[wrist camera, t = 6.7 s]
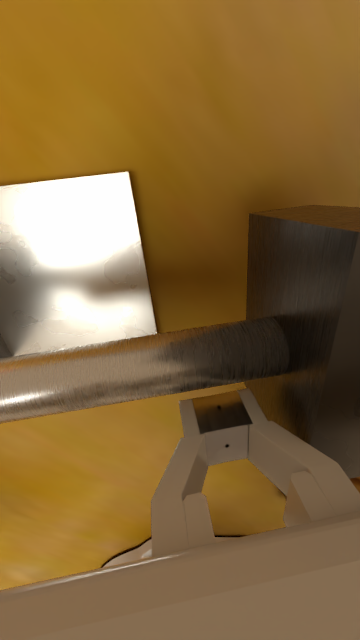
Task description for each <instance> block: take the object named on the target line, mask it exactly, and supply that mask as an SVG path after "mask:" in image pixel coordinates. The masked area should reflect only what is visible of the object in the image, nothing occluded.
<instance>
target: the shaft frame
mask: <svg viewBox="0 0 360 640" xmlns="http://www.w3.org/2000/svg"><path fill="white" fill-rule="evenodd" d="M153 334H157V328H156V323H155V317H154V311H153V305H152V300H151V294H150V288H149V283H148V277H147V271H146V265H145V260H144V254H143V248H142V243H141V237H140V231H139V226H138V220H137V214H136V208H135V203H134V197H133V191H132V186H131V180H130V174H129V172H122V173H113V174H104V175H95V176H87V177H78V178H69V179H60V180H51V181H42V182H34V183H25V184H16V185H7V186H0V358H6V357H12V356H19V355H25V354H31V353H38V352H44V351H51V350H57V349H63V348H70V347H76V346H83V345H89V344H95V343H102V342H108V341H115V340H121V339H127V338H134V337H140V336H147V335H153Z"/></svg>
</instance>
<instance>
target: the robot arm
mask: <svg viewBox="0 0 360 640" xmlns="http://www.w3.org/2000/svg"><path fill="white" fill-rule="evenodd" d="M179 406H180V413H181V419H182V425H183V431H184V438H181V439H180V441H179V443H178V445H177V447H176V449H175V451H174V454H173V456H172V458H171V460H170V462H169V464H168V466H167V468H166V470H165V473H164V475H163V477H162V479H161V481H160V483H159V485H158V487H157V489H156V492H155V494H154V496H153V498H152V500H151V533H152V539H150V540H149V541H147V542H146V543H144V544H143V545H142V546H140V547H139V548H137V549H135V550H132V551H130V552H127V553H125V554H123V555H120V556H118V557H116V558H115V559H113V560H111V561H110V562H108V563H107V564H106V565H105V566H104V567H103V568H99V569H95V570H90V571H86V572H81V573H77V574H72V575H68V576H63V577H59V578H54V579H50V580H45V581H41V582H36V583H32V584H27V585H23V586H18V587H13V588H9V589H4V590H0V640H360V493H359V492H358V490H357V489H356V488H355V486H354V485H353V483H352V482H351V481H350V479H349V478H348V476H347V475H346V474H345V472H344V471H343V470H342V468H341V467H340V465H339V464H338V463H337V462H335V461H334V460H332V459H331V458H329V457H328V456H326V455H325V454H323V453H321V452H320V451H318V450H317V449H315V448H314V447H312V446H311V445H309V444H307V443H306V442H304V441H303V440H301V439H300V438H298V437H297V436H295V435H293V434H292V433H290V432H289V431H287V430H286V429H284V428H283V427H281V426H279V425H278V424H276V423H275V422H273V421H268V420H267V418H266V417H265V415H264V413H263V411H262V409H261V408H260V406H259V404H258V402H257V400H256V399H255V397H254V395H253V393H252V391H251V390H250V389H249V388H247V389H242V390H237V391H231V392H226V393H221V394H216V395H211V396H205V397H199V398H192V399H187V400H181V401H179ZM245 458H248V460H250V461H251V462H252V463H253V464H254V465H255V466H256V467H257V468H258V469H259V470H260V471H261V472H262V473H263V474H264V475H265V476H266V477H267V478H268V479H269V480H270V481H271V482H272V483H273V484H274V485H275V486H276V487H277V488H278V489H279V490H281V491H282V492H283V493H284V494H285V495H286V496H287V500H286V505H285V510H284V516H283V520H284V522H285V525H286V527H285V528H280V529H276V530H271V531H266V532H262V533H257V534H253V535H248V536H244V537H239V538H238V537H215V536H214V532H213V527H212V522H211V517H210V513H209V508H208V503H207V499H206V496H205V495H204V494H202V493H201V491H202V487H203V484H204V480H205V476H206V473H207V469H208V466H210V465H215V464H219V463H223V462H228V461H234V460H239V459H245Z"/></svg>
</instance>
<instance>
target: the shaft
mask: <svg viewBox="0 0 360 640" xmlns="http://www.w3.org/2000/svg"><path fill="white" fill-rule="evenodd" d="M239 382H245V385H246V387H247V388H249V389H250V390H251V391H252V393H253V395H254V397H255V399H256V400H257V402H258V404H259V406H260V408H261V409H262V411H263V413H264V415H265V417H266V418H267V420H268V421H273V422H275V423H276V424H278V425H279V426H281V427H283V428H284V429H286V430H287V431H289V432H290V433H292V434H293V435H295V436H297V437H298V438H300V439H301V440H303V441H304V442H306V443H307V444H309V445H311V446H312V447H314V448H315V449H317V450H318V451H320V452H321V453H323V454H325V455H326V456H328V457H329V458H331V459H332V460H334V461H335V462H337V463H338V464H339V465H340V467H341V468H342V470H343V471H344V472H345V474H346V475H347V476H348V478H349V479H351V478H356V477H360V208H358V207H340V206H323V205H309V206H302V207H294V208H286V209H278V210H270V211H263V212H255V213H249V232H248V270H247V308H246V320H243V321H236V322H230V323H223V324H217V325H211V326H204V327H198V328H191V329H185V330H179V331H172V332H166V333H159V334H153V335H147V336H140V337H134V338H127V339H121V340H115V341H108V342H102V343H95V344H89V345H83V346H76V347H70V348H63V349H57V350H51V351H44V352H38V353H31V354H25V355H19V356H12V357H6V358H0V424H1V423H7V422H13V421H18V420H24V419H30V418H36V417H42V416H47V415H53V414H59V413H65V412H71V411H76V410H82V409H88V408H94V407H100V406H105V405H111V404H117V403H123V402H129V401H134V400H140V399H146V398H152V397H158V396H163V395H169V394H175V393H181V392H187V391H193V390H198V389H204V388H210V387H216V386H222V385H227V384H233V383H239Z"/></svg>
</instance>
